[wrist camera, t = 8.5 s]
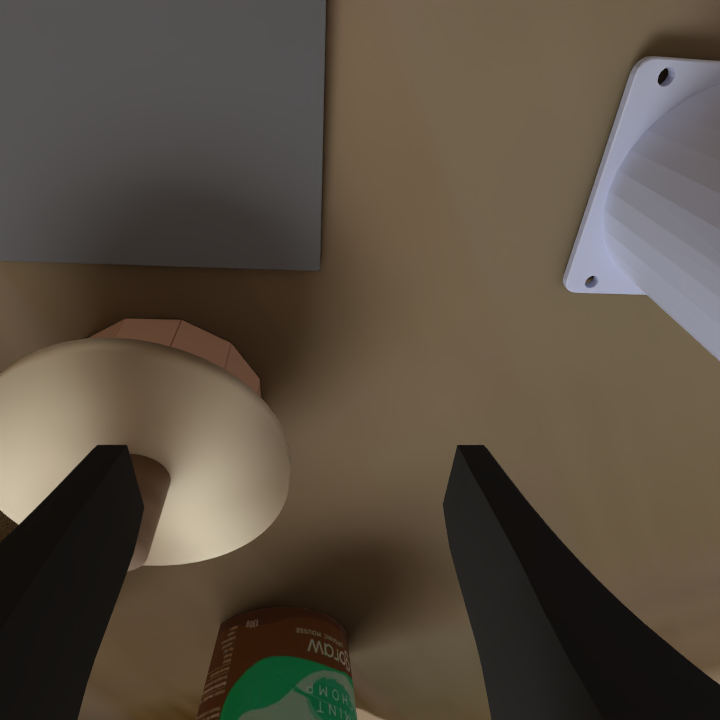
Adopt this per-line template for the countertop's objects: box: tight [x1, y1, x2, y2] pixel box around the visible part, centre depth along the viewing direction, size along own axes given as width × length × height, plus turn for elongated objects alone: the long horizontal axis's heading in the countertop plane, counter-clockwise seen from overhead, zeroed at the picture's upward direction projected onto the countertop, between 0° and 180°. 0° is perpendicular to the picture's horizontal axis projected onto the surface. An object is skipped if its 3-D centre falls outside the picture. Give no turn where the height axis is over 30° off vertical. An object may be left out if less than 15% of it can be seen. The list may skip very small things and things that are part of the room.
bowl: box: [89, 319, 261, 397], centre depth 21 cm, size 8×8×4 cm
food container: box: [196, 607, 357, 720], centre depth 30 cm, size 12×6×10 cm, turn 50°
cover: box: [0, 338, 291, 571], centre depth 17 cm, size 11×11×4 cm
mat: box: [0, 0, 326, 271], centre depth 15 cm, size 13×13×1 cm
